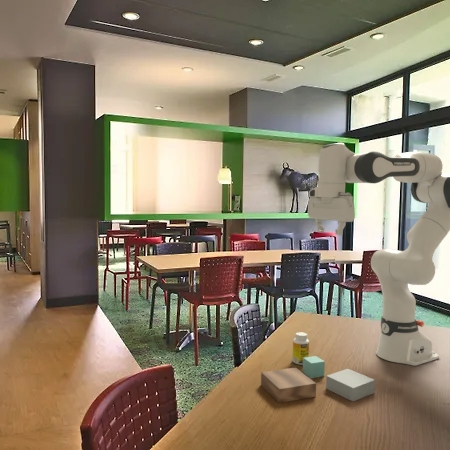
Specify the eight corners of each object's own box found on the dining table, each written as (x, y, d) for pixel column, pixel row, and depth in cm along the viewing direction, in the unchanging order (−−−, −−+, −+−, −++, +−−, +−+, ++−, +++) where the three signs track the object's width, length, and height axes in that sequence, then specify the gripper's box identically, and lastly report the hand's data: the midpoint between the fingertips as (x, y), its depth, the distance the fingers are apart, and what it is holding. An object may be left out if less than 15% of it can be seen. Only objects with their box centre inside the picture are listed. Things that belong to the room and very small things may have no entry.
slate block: (347, 380, 139) (347, 368, 139) (374, 392, 131) (374, 379, 131) (325, 388, 133) (326, 375, 133) (352, 401, 125) (353, 388, 125)
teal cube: (315, 370, 147) (316, 355, 147) (324, 376, 142) (324, 361, 142) (302, 372, 145) (303, 357, 145) (310, 378, 141) (311, 363, 140)
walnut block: (295, 379, 139) (295, 367, 139) (315, 396, 128) (316, 383, 128) (260, 384, 135) (261, 372, 134) (279, 402, 124) (279, 389, 123)
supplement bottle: (300, 366, 150) (301, 337, 149) (289, 361, 154) (290, 332, 153) (311, 363, 153) (312, 334, 152) (300, 358, 157) (301, 330, 156)
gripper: (360, 192, 137) (358, 236, 138) (319, 192, 156) (318, 230, 157) (344, 192, 134) (342, 237, 135) (305, 191, 153) (303, 231, 154)
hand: (329, 233), depth 146 cm, fingers open, 8 cm apart
